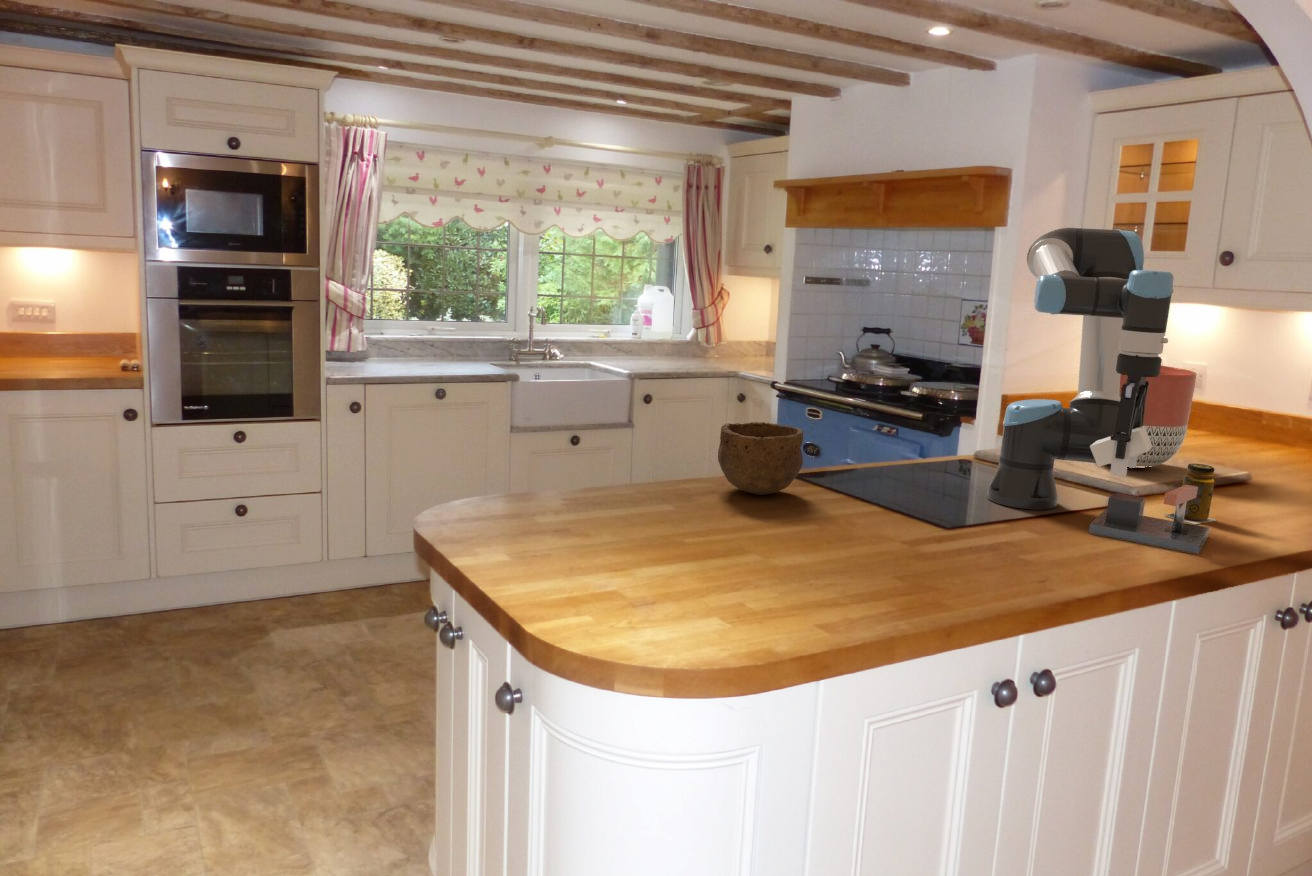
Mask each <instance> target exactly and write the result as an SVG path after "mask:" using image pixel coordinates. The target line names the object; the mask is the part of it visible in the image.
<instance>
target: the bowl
mask: <svg viewBox="0 0 1312 876" xmlns="http://www.w3.org/2000/svg"><path fill="white" fill-rule="evenodd" d="M719 439H720V441H719V446H718V452H717V461H718V463H719V466H720V469H721V471H722V473H723V475H724V476H725V479H726V480H727V482H729V483H730V484H731V485H733V487H735V488H737V489H739V490H740V491H743V492H746V493H749V494H754V495H759V496H761V495H762V496H763V495H765V496H766V495H771V494H775V493H778V492H781V491H783V490H785V489H786V488H788V487H789V486H790V485H791V484H792V483H793V481H794V480H795V479H796V477H797V476H798V475H799V472H800V471H801V469H802V467H803V463H804V457H803V454H802V449H801V448H802V446H803V442H804V431H803V429H801V428H800V427H799V428H798V427H795V426H791V425H782V424H781V425H779V424H777V423H771V422H770V423H769V422H765V421H762V422H759V421H755V422H754V421H751V422H747V423H745V422H744V423H739V422H737V423H724V424H723V425H722V426H721V427H720V438H719Z"/></svg>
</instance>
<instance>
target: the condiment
mask: <svg viewBox="0 0 1312 876" xmlns="http://www.w3.org/2000/svg"><path fill="white" fill-rule="evenodd" d="M1186 469H1187V470H1186V472H1185V473H1186V474H1185V475H1184V476H1183V481H1182V486H1184V485H1190V486H1196V487H1198V489H1197V496H1196V498H1194V499H1191V500H1189V501H1187V503H1186V509H1185V515H1184V523H1187V524H1192V525H1198V524H1200V525H1201V524H1203V523H1204V524H1205V523H1210V522H1215V521H1216V519H1215V518H1210V517H1209V516H1210V510H1211V506H1212V499H1213V492H1214V488H1215V479H1214V477H1215V467H1214V466H1212V465H1208V464H1204V463H1196V462H1195V463H1189V464H1187V468H1186ZM1182 486H1181V487H1182ZM1174 514H1175V512H1174V513H1173V512H1172V513H1169V514H1167V513H1166V514H1164V516H1165V517H1167V518H1170V519H1174Z"/></svg>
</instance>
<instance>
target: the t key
mask: <svg viewBox="0 0 1312 876" xmlns="http://www.w3.org/2000/svg"><path fill="white" fill-rule="evenodd" d="M1197 489H1198V487H1196V486H1190V485H1184V486H1179V487H1177V488H1174V489H1172V490H1169V491H1167V492H1165V493H1164V498H1163V504H1164V505H1168V506H1173V507H1175V509H1174V513H1175V514H1174V513H1173V514H1174V518H1173V520H1172V521H1173V527H1172V530H1175V531H1182V528H1183V523H1185V521H1184V515H1185V509H1186V503H1187V501H1189V500H1191V499H1194V498H1196V496H1197Z"/></svg>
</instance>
